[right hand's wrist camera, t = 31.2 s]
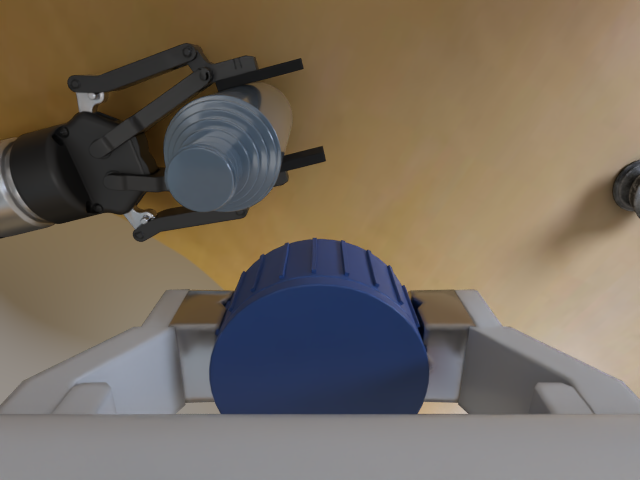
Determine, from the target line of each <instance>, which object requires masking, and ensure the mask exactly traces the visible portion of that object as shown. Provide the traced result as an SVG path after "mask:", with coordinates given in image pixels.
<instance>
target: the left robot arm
mask: <svg viewBox="0 0 640 480" xmlns="http://www.w3.org/2000/svg"><path fill="white" fill-rule="evenodd" d="M187 65H189V67H190V68H191V69H192V71H193V73H192V74H190V75H189V76H188V77H186V78H185V79H183V80H182V81H181V82H179V83H178V84H176V85H175V86H174V87H172V88H171V89H170V90H168V91H167V92H165V93H164V94H163V95H161V96H160V97H158V98H157V99H156V100H154V101H153V102H151V103H150V104H149V105H147V106H146V107H144V108H143V109H142V110H140V111H139V112H137V113H136V114H135V115H133V116H131V117H129V118H128V119H126V120H125V121H121V120H119V119H116V118H114V117H111V116H108V115H106V114H103V113H101V112H98V111H97V108H98V105H99V104H101V103H103V102H106V101H107V100H108V98H109V92H110V91H117V90H121V89H124V88H127V87H130V86H132V85H135V84H138V83H141V82H143V81H146V80H149V79H151V78H154V77H157V76H159V75H162V74H165V73H168V72H170V71H173V70H176V69H178V68H181V67H184V66H187ZM301 69H304V68H303V64H302V60H301V58H300V59H296V60H292V61H289V62H285V63H281V64H277V65H274V66H270V67H266V68H262V69H259V68H258V65H257V61H256V58H255V57H252V56H242V57H239V58H235V59H231V60H227V61H224V62H220V63H216V64H214V63H211V62H210V61H209V60H208V59H207V57H206V56H205V55H204V53H203V51H202V49H201V47H199V46H198V45H194V44H189V43H185V44H181V45H179V46H176V47H174V48H171V49H168V50H166V51H163V52H160V53H158V54H155V55H152V56H150V57H147V58H144V59H142V60H139V61H136V62H134V63H131V64H128V65H126V66H123V67H120V68H118V69H115V70H112V71H110V72H107V73H104V74H102V75H74V76H71V77H69V79H68V87H69V88H70V89H71V90H72V91H73V92H76V95H77V101H78V107H79V113H77V114H76V115H75V116H74V117H73V118H72V119H71V120H70V121H69V122H67V123H64V124H60V125H57V126H53V127H49V128H45V129H42V130H38V131H34V132H30V133H27V134H23V135H21V136H20V137H18V138H17V137H13V138H9V139H5V140H1V141H0V238H4V237H9V236H14V235H18V234H22V233H26V232H30V231H34V230H38V229H43V228H47V227H50V226H52V225H54V224H61V223H66V222H70V221H73V220H78V219H81V218H85V217H89V216H93V215H97V214H102V213H114V214H119V215H123V214H124V216H125V217H126V218H127V220H128V221H129V222H130V223H131V225H132V226H133V227H134V229H135V230H134V232H133V237H134V239H135V240H137V241H139V242H143V241H145V240H147V239H149V238H151V237H152V236H154V235H156V234H158V233H159V232H162V231H168V230H174V229H180V228H186V227H192V226H198V225H204V224H210V223H217V222H223V221H229V220H235V219H241V218H244V217H245V216H246V215H247V212H248V210H249V208H250V207H249V208H246V209H243V210H239V211H233V212H218V211H209V212H197V211H193V210H190V209H187V208H186V207H184V206H182V207H176V208H170V209H166V210H163V211H160V212H158V213H157V212H156V211H155V210H153V209H145V210H143V209H140V208H139V207H138V206H137V204H138V203H139V202H140V200H141V199H142V197H143V196H144V195H145V193H146V192H162V191H169V190H167V187H166V184H165V169H166V168H160V167H157V164H156V162H155V160H154V158H153V157H152V155H151V154H150V152H149V148H148V141H147V138H146V136H145V132H146V131H147V130H149V129H150V128H152V127H153V126H154V125H155V124H156V123H158V122H159V121H161V120H162V119H164V118H165V117H166V116H168V115H169V114H171V113H172V112H173V111H175V110H176V109H178V108H179V107H181V106H182V105H183V104H185V103H186V102H188V101H189V100H191V99H192V98H193V97H195V96H196V95H198V94H199V93H200V92H202V91H203V90H205V89H206V88H208V87H209V86H210V85H212V84H213V83H216V86H217V89H218V92H219V91H223V90H226V89H230V88H234V87H238V86H241V85H245V84H249V83H253V82H256V81H260V80H264V79H268V78H271V77H275V76H279V75H283V74H286V73H290V72H294V71H298V70H301ZM324 161H326V159H325V154H324V150H323V146H321V147H317V148H313V149H309V150H305V151H301V152H297V153H293V154H289V155H285V156H284V158H283V161H282V165H281V169H280V172H279V176H278V178H277V181H276V183H275V185H274V186H273V187H275V186H280V185H283V184H285V183H286V182H287V181H288V178H289V176H288V173H287V171H288V170H292V169H296V168H300V167H304V166H308V165H312V164H316V163H320V162H324Z"/></svg>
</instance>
